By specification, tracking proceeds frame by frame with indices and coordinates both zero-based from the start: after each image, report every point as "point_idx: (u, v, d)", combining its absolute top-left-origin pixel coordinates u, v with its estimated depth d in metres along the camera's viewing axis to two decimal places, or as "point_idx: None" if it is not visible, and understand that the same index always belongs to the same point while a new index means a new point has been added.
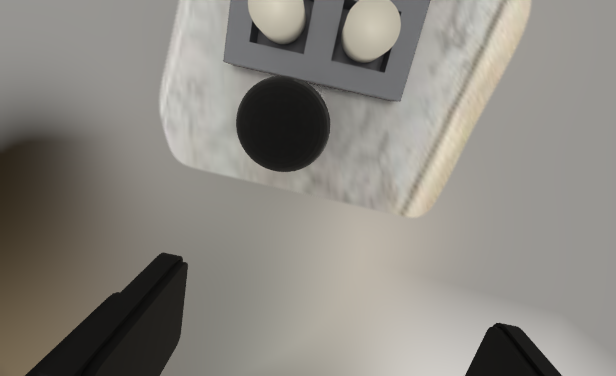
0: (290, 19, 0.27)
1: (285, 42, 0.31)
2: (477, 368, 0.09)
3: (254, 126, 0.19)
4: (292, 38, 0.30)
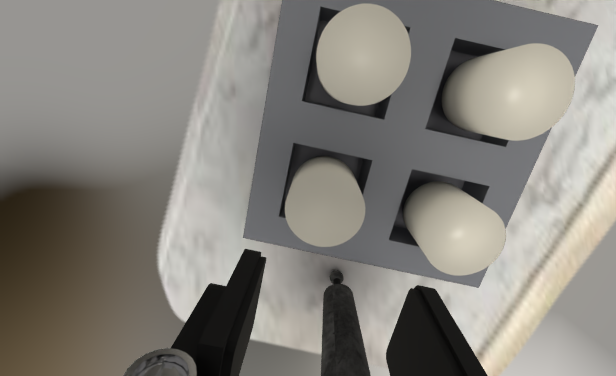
0: (345, 229, 0.19)
1: None
2: (399, 326, 0.10)
3: None
4: None
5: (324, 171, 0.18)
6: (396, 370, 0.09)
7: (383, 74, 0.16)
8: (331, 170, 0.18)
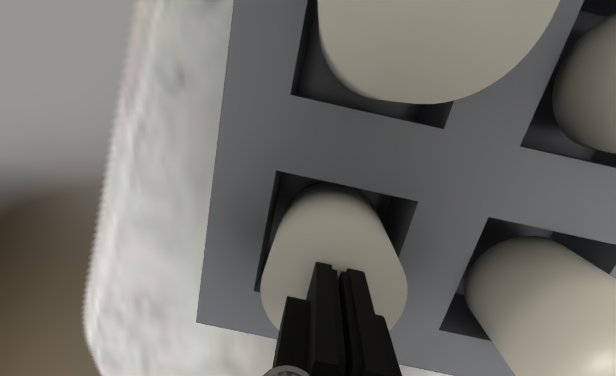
0: None
1: None
2: None
3: None
4: None
5: (332, 226, 0.09)
6: None
7: (489, 24, 0.06)
8: (345, 221, 0.10)
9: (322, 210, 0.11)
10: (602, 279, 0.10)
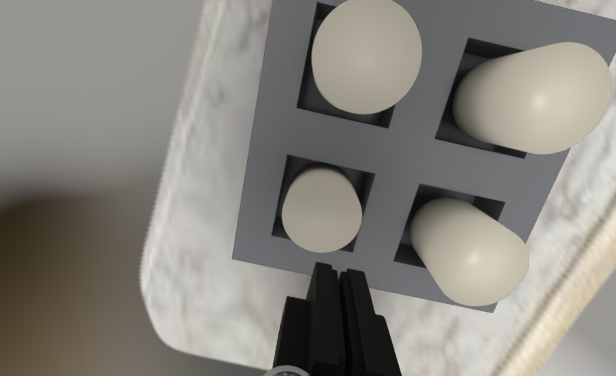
0: (342, 235, 0.19)
1: None
2: None
3: None
4: None
5: (321, 177, 0.18)
6: None
7: (389, 78, 0.14)
8: (328, 176, 0.18)
9: (315, 172, 0.19)
10: (476, 213, 0.17)
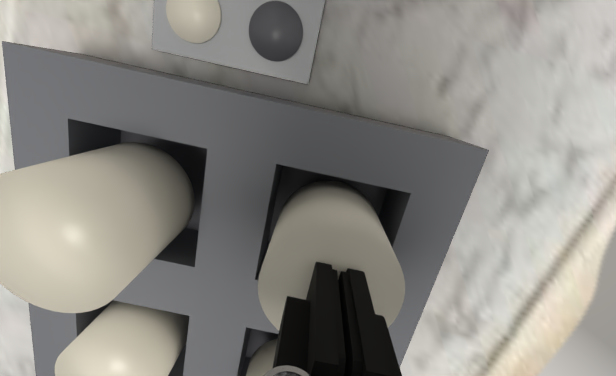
0: None
1: None
2: None
3: None
4: None
5: (95, 339, 0.14)
6: None
7: (91, 272, 0.09)
8: (111, 332, 0.14)
9: (108, 317, 0.15)
10: None
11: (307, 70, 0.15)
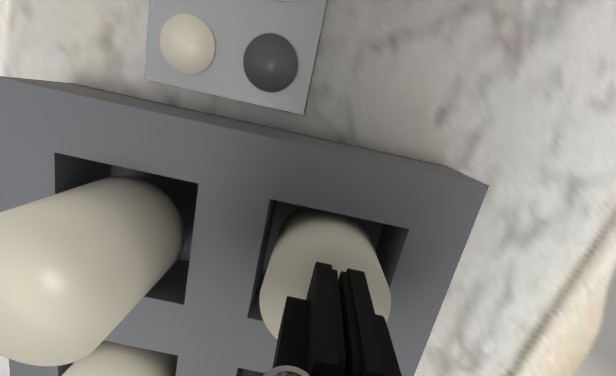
0: None
1: None
2: None
3: None
4: None
5: None
6: None
7: (69, 324, 0.09)
8: None
9: (92, 358, 0.14)
10: None
11: (302, 101, 0.15)
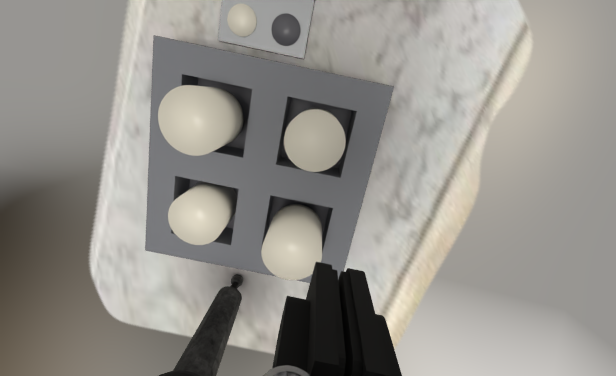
0: (211, 232, 0.27)
1: None
2: None
3: None
4: None
5: (191, 193, 0.26)
6: None
7: (209, 133, 0.22)
8: (199, 192, 0.26)
9: (194, 188, 0.27)
10: (295, 217, 0.25)
11: (303, 50, 0.27)
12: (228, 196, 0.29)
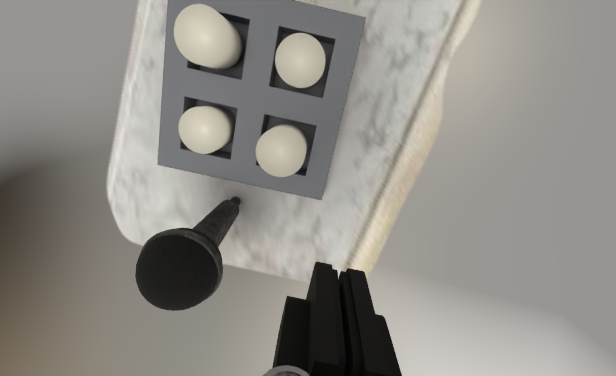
0: (214, 142, 0.32)
1: None
2: None
3: (143, 286, 0.22)
4: None
5: None
6: None
7: (214, 46, 0.27)
8: (204, 107, 0.32)
9: None
10: (284, 126, 0.31)
11: None
12: (228, 117, 0.34)
